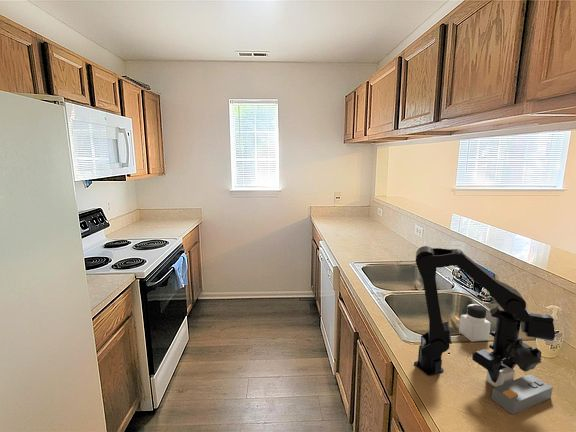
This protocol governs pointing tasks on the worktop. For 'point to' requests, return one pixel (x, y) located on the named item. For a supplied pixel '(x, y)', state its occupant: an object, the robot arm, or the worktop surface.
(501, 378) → the charger
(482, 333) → the medicine bottle
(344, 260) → the worktop surface
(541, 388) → the power strip
